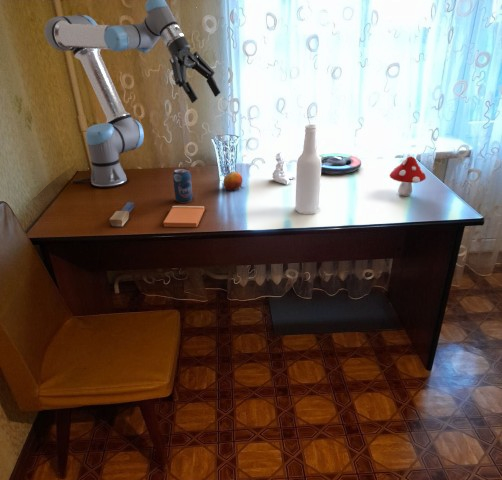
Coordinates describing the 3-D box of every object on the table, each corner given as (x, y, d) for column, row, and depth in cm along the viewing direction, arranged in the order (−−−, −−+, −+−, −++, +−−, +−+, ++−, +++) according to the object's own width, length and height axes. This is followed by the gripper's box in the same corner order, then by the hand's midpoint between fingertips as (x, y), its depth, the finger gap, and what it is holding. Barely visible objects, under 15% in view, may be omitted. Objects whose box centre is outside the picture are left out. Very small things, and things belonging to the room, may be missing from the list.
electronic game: (300, 167, 224) (300, 156, 221) (335, 157, 235) (336, 147, 232) (335, 179, 209) (336, 168, 206) (371, 168, 220) (372, 158, 217)
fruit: (244, 189, 197) (234, 172, 194) (229, 198, 200) (218, 181, 197) (248, 182, 203) (238, 166, 200) (233, 191, 207) (223, 175, 203)
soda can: (182, 204, 188) (178, 174, 181) (172, 200, 193) (168, 170, 186) (196, 200, 192) (193, 170, 185) (186, 196, 196) (183, 166, 189)
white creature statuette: (288, 185, 204) (289, 156, 197) (269, 183, 206) (269, 154, 199) (294, 178, 211) (295, 150, 204) (275, 176, 214) (275, 148, 207)
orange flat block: (163, 226, 172) (163, 221, 171) (173, 209, 184) (173, 204, 183) (196, 227, 171) (196, 222, 169) (204, 210, 183) (204, 205, 182)
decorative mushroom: (394, 186, 200) (400, 149, 191) (427, 192, 194) (435, 154, 185) (381, 196, 191) (386, 158, 182) (415, 203, 184) (422, 163, 176)
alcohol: (294, 205, 185) (297, 122, 167) (317, 205, 185) (322, 122, 167) (295, 214, 178) (298, 129, 160) (319, 214, 178) (325, 128, 160)
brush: (110, 226, 173) (109, 219, 171) (126, 207, 187) (124, 200, 185) (123, 226, 172) (121, 219, 170) (137, 208, 187) (136, 201, 185)
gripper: (157, 38, 162) (190, 97, 166) (203, 32, 178) (232, 86, 183) (146, 52, 167) (178, 109, 172) (192, 45, 184) (220, 97, 188)
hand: (206, 97), depth 177 cm, fingers open, 13 cm apart
